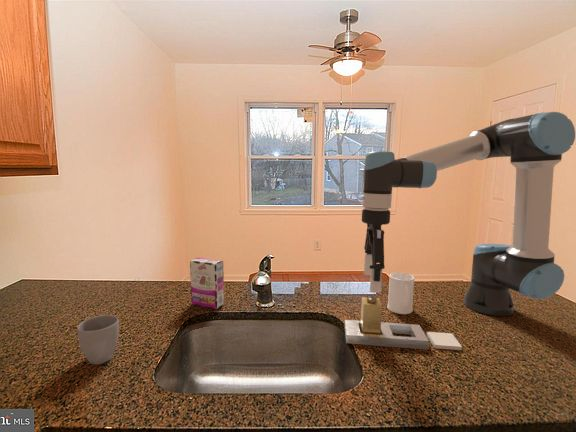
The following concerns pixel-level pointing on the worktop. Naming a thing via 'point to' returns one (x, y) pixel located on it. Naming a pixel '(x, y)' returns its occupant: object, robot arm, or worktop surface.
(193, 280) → the candy bar box
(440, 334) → the pad
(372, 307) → the brass block
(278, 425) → the worktop surface
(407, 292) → the mug
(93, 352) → the mug
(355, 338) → the rail plate
